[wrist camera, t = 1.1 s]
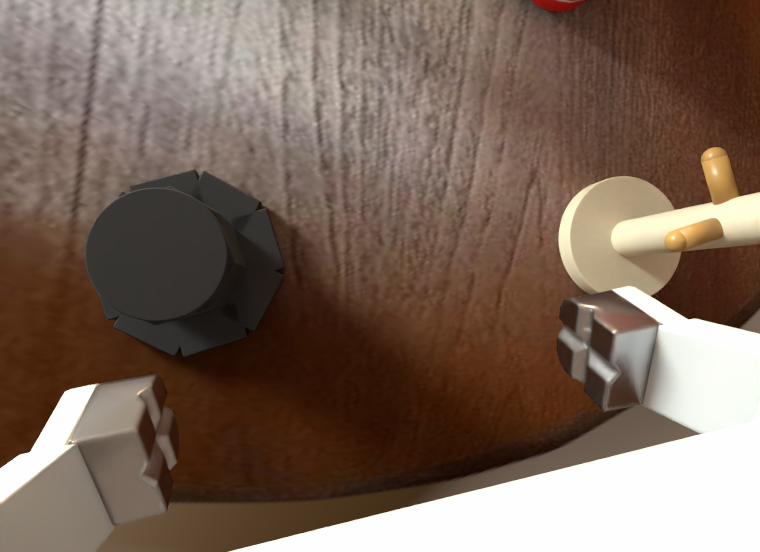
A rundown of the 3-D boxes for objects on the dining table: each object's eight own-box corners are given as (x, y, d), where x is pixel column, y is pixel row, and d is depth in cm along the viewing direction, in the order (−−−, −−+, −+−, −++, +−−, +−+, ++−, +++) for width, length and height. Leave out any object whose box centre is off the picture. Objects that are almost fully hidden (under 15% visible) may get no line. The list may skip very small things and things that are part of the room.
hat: (301, 319, 32) (303, 328, 24) (128, 374, 30) (71, 403, 22) (251, 158, 32) (237, 115, 24) (74, 203, 30) (-3, 172, 22)
